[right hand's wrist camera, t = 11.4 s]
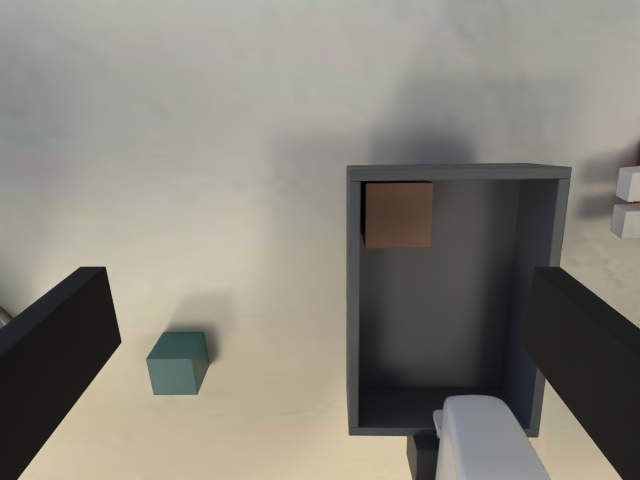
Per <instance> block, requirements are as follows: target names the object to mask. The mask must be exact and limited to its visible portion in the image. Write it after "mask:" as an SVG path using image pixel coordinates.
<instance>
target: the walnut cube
mask: <svg viewBox="0 0 640 480" xmlns="http://www.w3.org/2000/svg"><path fill="white" fill-rule="evenodd" d="M432 203H433V182H430V181H428V180H407V181H361V236H362V239H363V242H364V246H365V248H430V244H431V223H432Z"/></svg>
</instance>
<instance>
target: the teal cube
mask: <svg viewBox="0 0 640 480" xmlns="http://www.w3.org/2000/svg"><path fill="white" fill-rule="evenodd" d="M146 360H147V365H148V370H149V374H150V379H151V384H152V388H153V393H154V395H197V394H198V392H199V389H200V387H201V384H202V382H203V379H204V377H205V375H206V372H207V370H208V367H209V363H208V356H207V349H206V342H205V335H204V332H178V333H163V334H162V335H161V337H160V338H159V340H158V341H157V343H156V344H155V346H154V348H153V349H152V351H151V352H150V354H149V355H148V357H147V359H146Z"/></svg>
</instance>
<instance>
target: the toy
mask: <svg viewBox="0 0 640 480" xmlns="http://www.w3.org/2000/svg"><path fill="white" fill-rule="evenodd" d="M616 196H618V197H620V198H622V199H623V200H625V201H627V202H633V204H619V205H614V209H613V215H612V222H611V228H610V231H611V232H613V233H614V234H616V235H617V236H618V237H620V238H621V239H625V238H640V157H639V164H638V166H636V167H623V168H620V170H619V177H618V183H617V189H616Z"/></svg>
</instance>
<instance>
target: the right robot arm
mask: <svg viewBox="0 0 640 480" xmlns="http://www.w3.org/2000/svg"><path fill="white" fill-rule="evenodd" d="M120 344H121V337H120V332H119V328H118V323H117V318H116V314H115V309H114V304H113V299H112V295H111V290H110V285H109V281H108V276H107V271H106V267H80V268H78V269H77V270H76V271H74V272H73V273H72V274H70V275H69V276H68V277H67V278H65V279H64V280H63V281H61V282H60V283H59V284H58V285H56V286H55V287H54V288H52V289H51V290H50V291H49V292H47V293H46V294H45V295H43V296H42V297H41V298H39V299H38V300H37V301H36V302H34V303H33V304H32V305H30V306H29V307H28V308H27V309H25V310H24V311H23V312H21V313H20V314H19V315H17V316H16V317H15V318H14V319H12V318H11V317H10V316H9V315H8V314H7V313H6V312H5V311H4V310H3V309H1V308H0V480H17V479H18V478H19V477H20V475H21V474H22V473H23V471H24V470H25V469H26V467H27V466H28V465H29V463H30V462H31V461H32V460H33V458H34V457H35V456H36V454H37V453H38V452H39V450H40V449H41V448H42V446H43V445H44V444H45V442H46V441H47V440H48V438H49V437H50V436H51V435H52V433H53V432H54V431H55V429H56V428H57V427H58V425H59V424H60V423H61V421H62V420H63V419H64V417H65V416H66V415H67V413H68V412H69V411H70V410H71V408H72V407H73V406H74V404H75V403H76V402H77V400H78V399H79V398H80V396H81V395H82V394H83V392H84V391H85V390H86V389H87V387H88V386H89V385H90V383H91V382H92V381H93V379H94V378H95V377H96V375H97V374H98V373H99V371H100V370H101V369H102V367H103V366H104V365H105V364H106V362H107V361H108V360H109V358H110V357H111V356H112V354H113V353H114V352H115V350H116V349H117V348H118V346H119V345H120ZM519 344H520V345H521V346H522V348H523V349H524V350H525V352H526V353H527V354H528V356H529V357H530V358H531V360H532V361H533V362H534V364H535V365H536V366H537V367H538V369H539V370H540V371H541V373H542V374H543V375H544V377H545V378H546V379H547V381H548V382H549V383H550V385H551V386H552V387H553V389H554V390H555V391H556V392H557V394H558V395H559V396H560V398H561V399H562V400H563V402H564V403H565V404H566V406H567V407H568V408H569V410H570V411H571V412H572V413H573V415H574V416H575V417H576V419H577V420H578V421H579V423H580V424H581V425H582V427H583V428H584V429H585V431H586V432H587V433H588V435H589V436H590V437H591V438H592V440H593V441H594V442H595V444H596V445H597V446H598V448H599V449H600V450H601V452H602V453H603V454H604V456H605V457H606V458H607V460H608V461H609V462H610V463H611V465H612V466H613V467H614V469H615V470H616V471H617V473H618V474H619V475H620V477H621V478H622V479H623V480H640V329H639V328H638V327H637V326H635V325H634V324H633V323H632V322H630V321H629V320H628V319H626V318H625V317H624V316H623V315H621V314H620V313H619V312H617V311H616V310H615V309H613V308H612V307H611V306H610V305H608V304H607V303H606V302H604V301H603V300H602V299H601V298H599V297H598V296H597V295H595V294H594V293H593V292H591V291H590V290H589V289H588V288H586V287H585V286H584V285H582V284H581V283H580V282H579V281H577V280H576V279H575V278H573V277H572V276H571V275H570V274H568V273H567V272H566V271H564V270H563V269H562V268H560V267H534V271H533V276H532V281H531V285H530V290H529V295H528V299H527V304H526V309H525V314H524V318H523V323H522V328H521V332H520V337H519Z"/></svg>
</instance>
